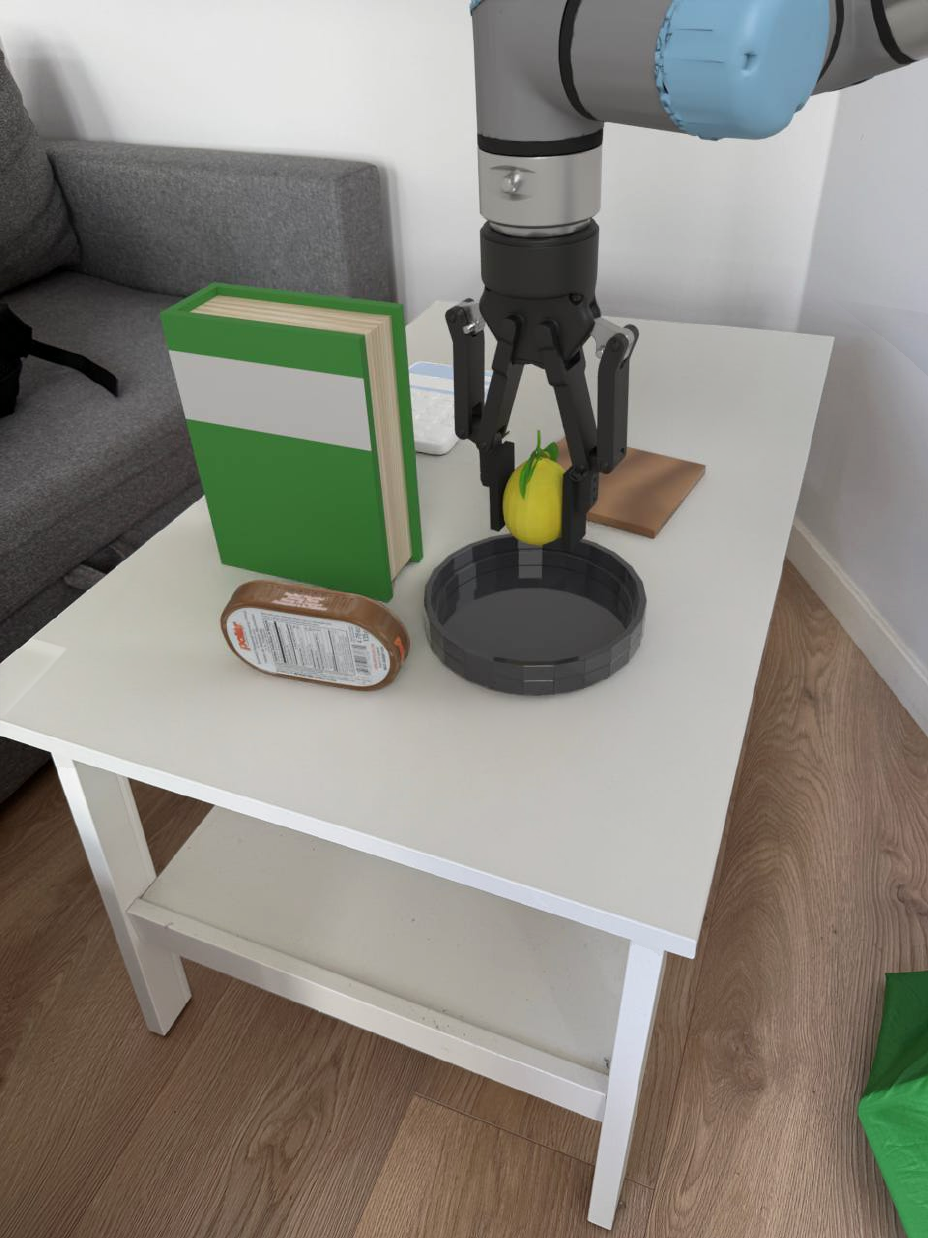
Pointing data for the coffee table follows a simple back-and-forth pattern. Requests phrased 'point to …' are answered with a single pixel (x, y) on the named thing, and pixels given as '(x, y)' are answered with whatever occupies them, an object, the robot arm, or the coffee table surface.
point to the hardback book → (301, 432)
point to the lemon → (535, 497)
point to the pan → (534, 614)
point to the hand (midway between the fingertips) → (537, 531)
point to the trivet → (640, 490)
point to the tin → (315, 635)
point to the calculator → (434, 406)
